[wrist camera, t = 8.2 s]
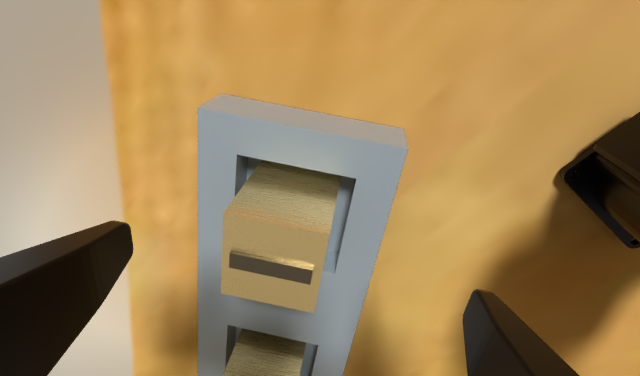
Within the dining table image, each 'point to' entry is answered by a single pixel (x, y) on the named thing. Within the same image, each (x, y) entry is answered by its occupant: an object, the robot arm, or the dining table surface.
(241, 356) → the block
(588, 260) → the dining table surface
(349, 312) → the grey slotted plate
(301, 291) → the block
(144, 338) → the dining table surface
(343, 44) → the dining table surface
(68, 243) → the robot arm
